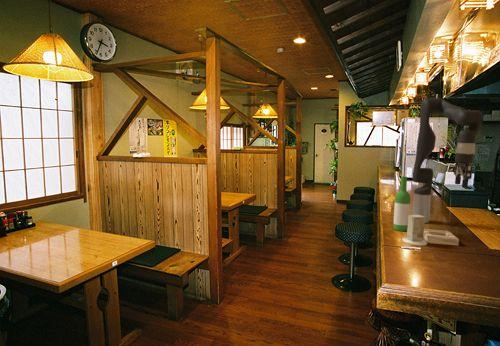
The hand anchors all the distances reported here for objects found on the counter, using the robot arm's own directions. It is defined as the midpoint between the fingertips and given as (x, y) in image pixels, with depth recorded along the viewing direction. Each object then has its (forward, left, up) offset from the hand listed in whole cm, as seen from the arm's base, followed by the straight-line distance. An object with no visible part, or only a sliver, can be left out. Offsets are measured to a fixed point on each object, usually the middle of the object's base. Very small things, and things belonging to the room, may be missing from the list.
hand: (460, 185), depth 157 cm
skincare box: (+6, -20, -28) cm, 34 cm away
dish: (+6, -20, -28) cm, 35 cm away
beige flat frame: (-2, -7, -28) cm, 29 cm away
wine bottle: (-16, -22, -29) cm, 40 cm away
